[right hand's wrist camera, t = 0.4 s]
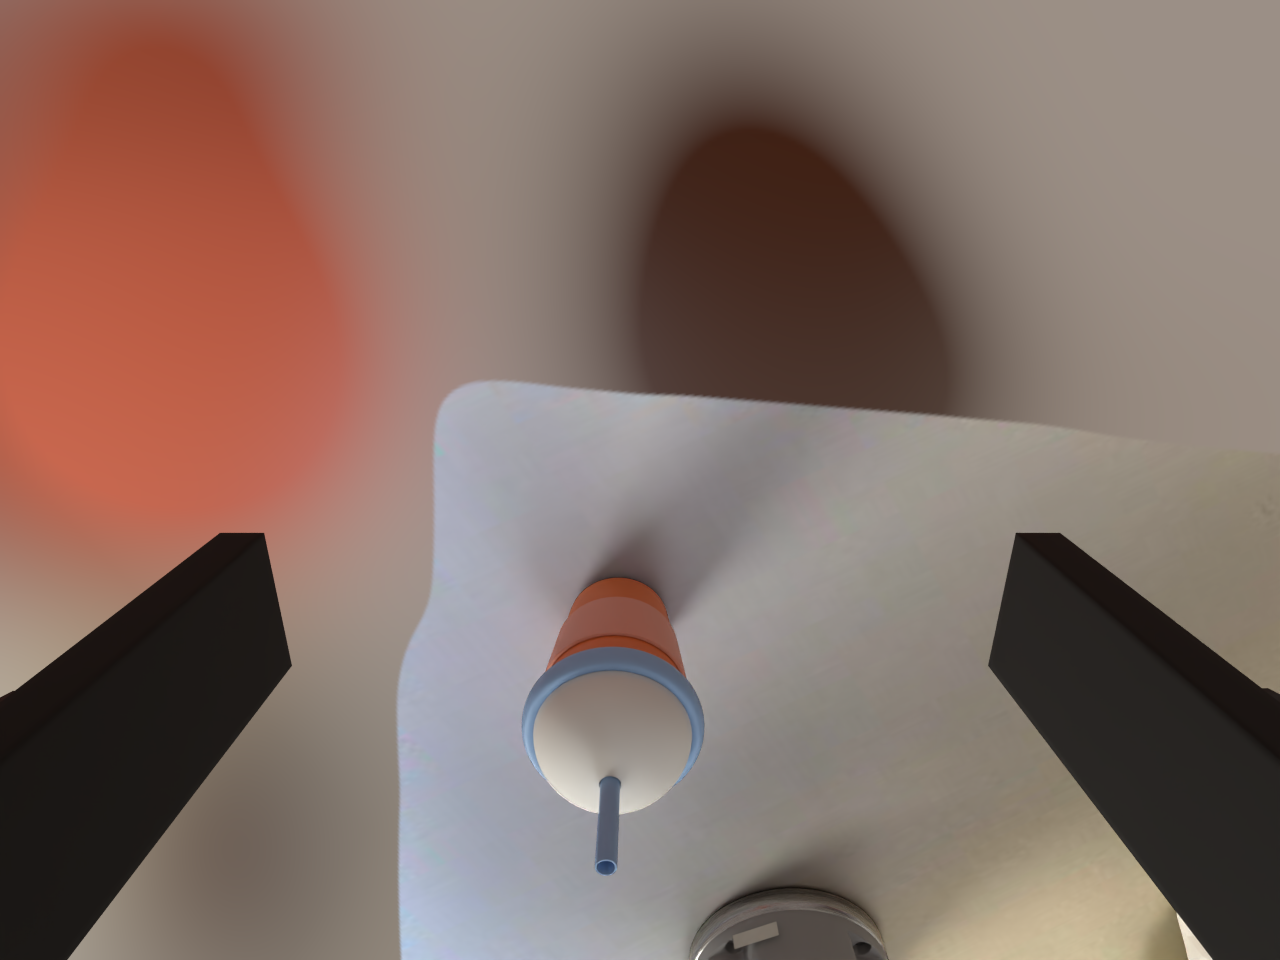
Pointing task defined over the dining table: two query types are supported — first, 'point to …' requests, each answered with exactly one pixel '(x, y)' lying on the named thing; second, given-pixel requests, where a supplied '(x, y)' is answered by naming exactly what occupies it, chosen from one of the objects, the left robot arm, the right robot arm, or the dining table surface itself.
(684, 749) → the cup with straw
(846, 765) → the dining table surface
